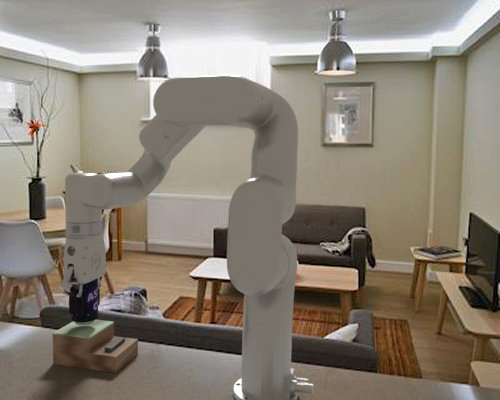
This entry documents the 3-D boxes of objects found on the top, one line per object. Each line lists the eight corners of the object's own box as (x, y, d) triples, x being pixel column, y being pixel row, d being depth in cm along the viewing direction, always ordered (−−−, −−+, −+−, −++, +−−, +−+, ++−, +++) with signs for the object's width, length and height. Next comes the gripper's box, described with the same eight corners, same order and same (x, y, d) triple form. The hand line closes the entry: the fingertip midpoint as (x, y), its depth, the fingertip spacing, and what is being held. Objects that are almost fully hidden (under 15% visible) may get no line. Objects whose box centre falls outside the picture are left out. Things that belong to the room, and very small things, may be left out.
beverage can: (89, 327, 102) (89, 272, 101) (66, 324, 103) (65, 271, 102) (102, 318, 108) (102, 266, 107) (80, 316, 109) (79, 265, 108)
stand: (137, 353, 109) (137, 324, 108) (116, 373, 99) (116, 340, 98) (79, 346, 112) (79, 317, 111) (53, 364, 102) (52, 332, 102)
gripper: (76, 236, 94) (77, 324, 96) (119, 224, 111) (119, 299, 113) (43, 234, 96) (45, 320, 98) (90, 223, 113) (91, 296, 114)
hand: (84, 308), depth 105 cm, fingers closed on beverage can, 5 cm apart
